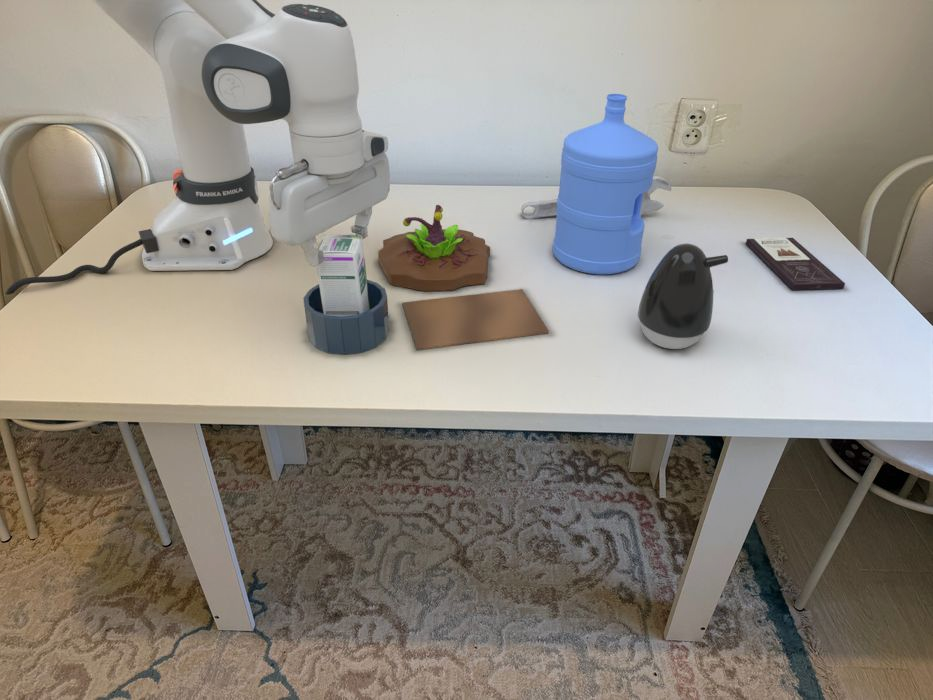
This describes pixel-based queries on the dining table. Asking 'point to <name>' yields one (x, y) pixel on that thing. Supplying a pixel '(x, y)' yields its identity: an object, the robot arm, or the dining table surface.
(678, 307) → the pump dispenser
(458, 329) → the brown flat rectangular board
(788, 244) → the chocolate bar
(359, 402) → the dining table surface
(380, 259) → the plant
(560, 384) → the dining table surface
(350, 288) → the syrup box
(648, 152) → the water jug
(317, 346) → the pipe section
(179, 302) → the dining table surface
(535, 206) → the wrench
